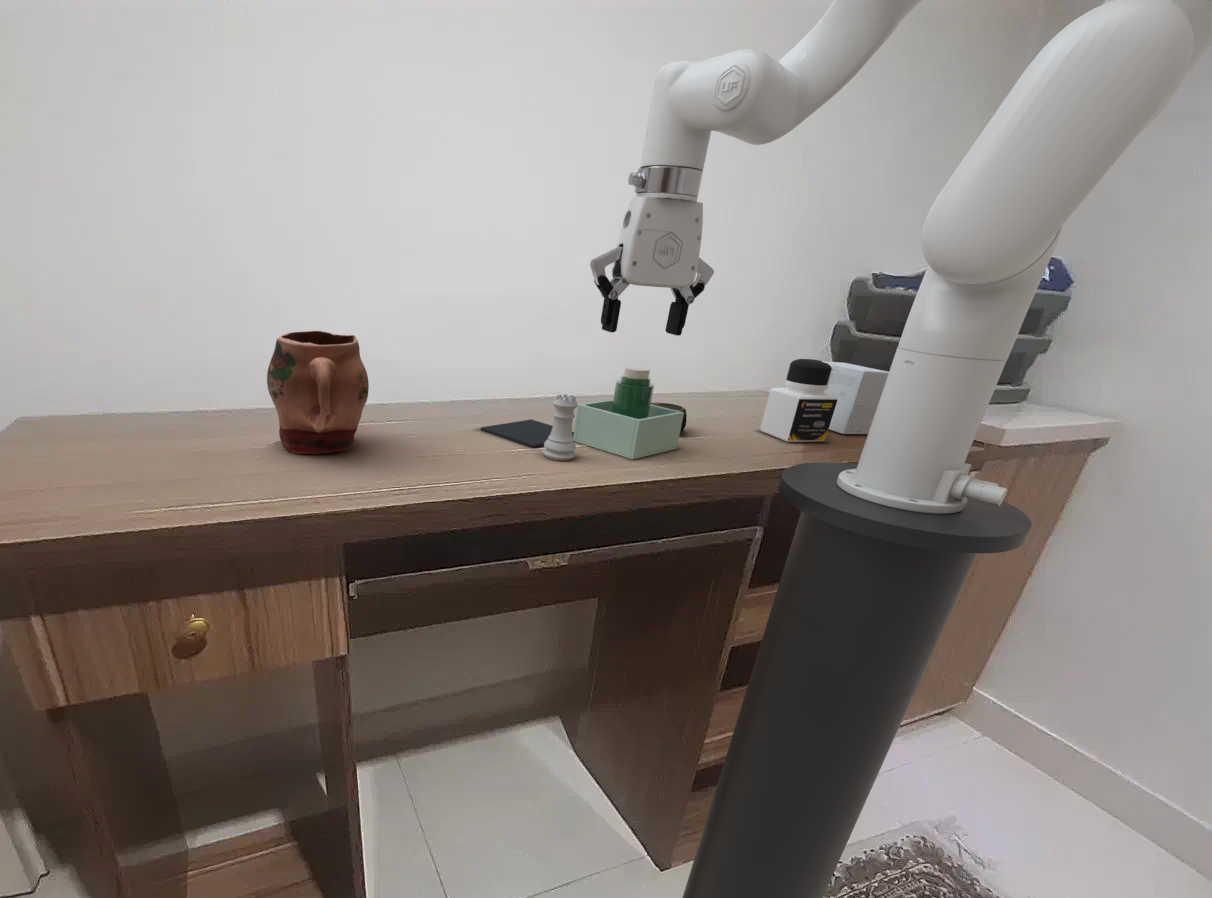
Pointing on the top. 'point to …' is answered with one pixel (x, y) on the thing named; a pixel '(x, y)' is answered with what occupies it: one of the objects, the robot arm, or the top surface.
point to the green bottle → (633, 393)
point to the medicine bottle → (801, 404)
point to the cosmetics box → (855, 396)
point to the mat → (523, 432)
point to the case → (627, 430)
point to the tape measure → (677, 408)
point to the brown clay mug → (317, 390)
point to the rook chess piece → (562, 430)
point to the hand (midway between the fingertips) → (641, 332)
